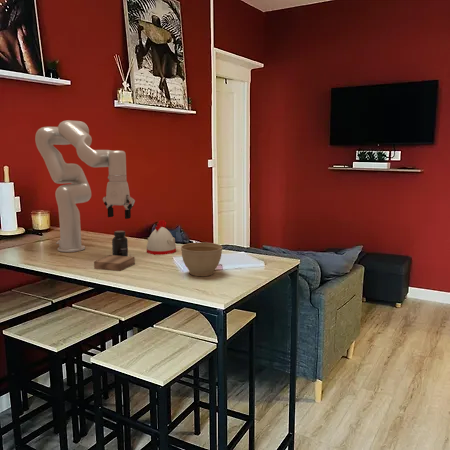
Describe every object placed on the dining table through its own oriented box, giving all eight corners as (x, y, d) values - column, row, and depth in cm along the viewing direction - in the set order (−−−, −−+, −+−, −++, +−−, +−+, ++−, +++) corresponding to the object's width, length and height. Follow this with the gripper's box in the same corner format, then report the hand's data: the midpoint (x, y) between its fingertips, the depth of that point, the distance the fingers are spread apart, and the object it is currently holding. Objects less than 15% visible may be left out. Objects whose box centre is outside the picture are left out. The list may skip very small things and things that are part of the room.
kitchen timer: (181, 250, 224) (181, 219, 221) (165, 256, 212) (164, 223, 209) (157, 247, 230) (157, 217, 228) (140, 252, 218) (139, 221, 216)
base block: (94, 268, 189) (94, 261, 189) (110, 261, 201) (109, 255, 200) (120, 270, 186) (120, 263, 185) (134, 263, 197) (134, 256, 197)
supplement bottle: (124, 259, 204) (123, 233, 202) (110, 259, 206) (108, 232, 204) (130, 256, 211) (129, 230, 209) (116, 255, 212) (115, 229, 210)
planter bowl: (189, 281, 172) (188, 252, 170) (176, 270, 186) (175, 244, 185) (228, 276, 178) (228, 248, 176) (213, 266, 193) (213, 241, 191)
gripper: (96, 178, 203) (98, 217, 206) (127, 180, 195) (129, 220, 198) (108, 177, 210) (109, 215, 212) (139, 179, 202) (140, 218, 205)
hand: (119, 217), depth 205 cm, fingers open, 9 cm apart
